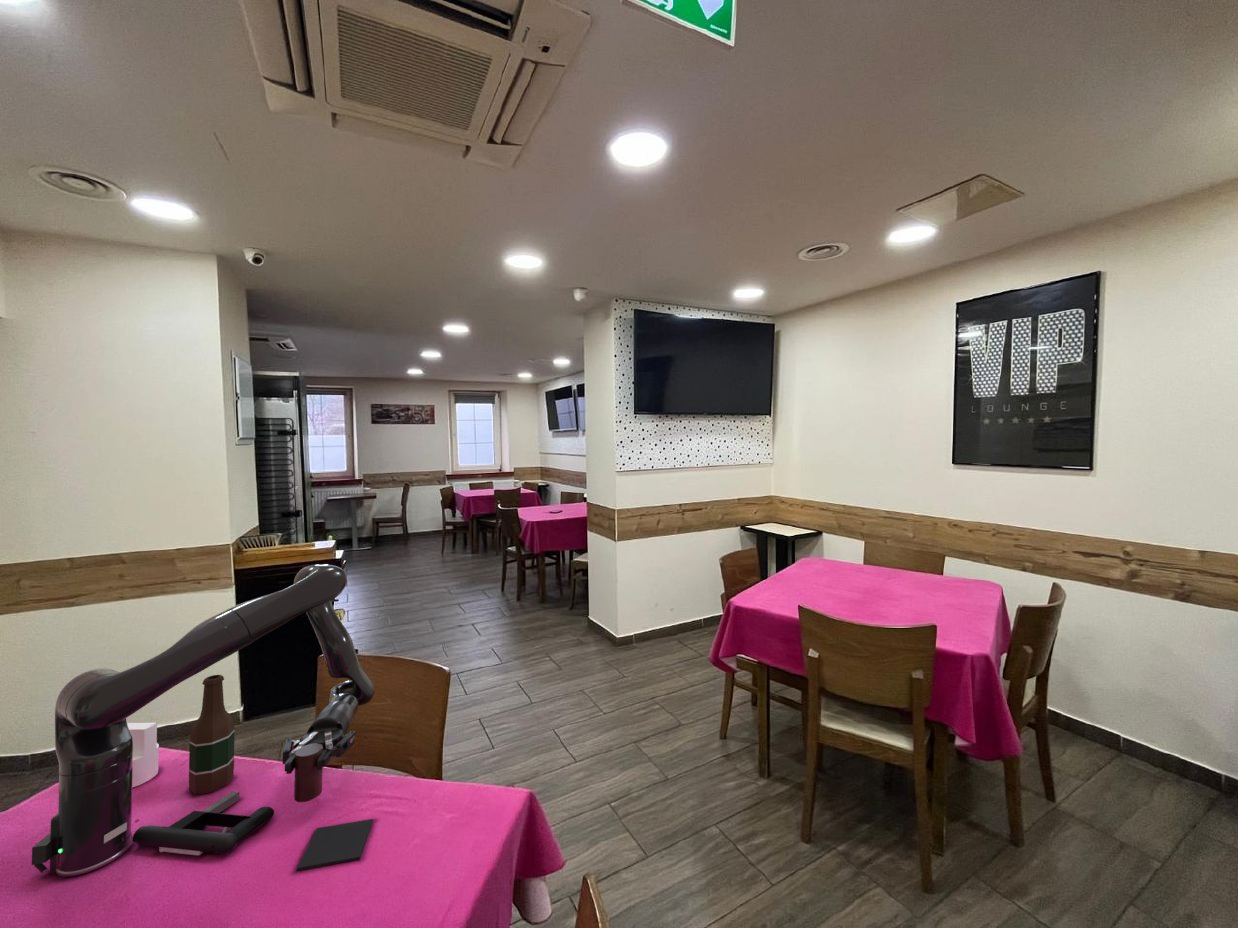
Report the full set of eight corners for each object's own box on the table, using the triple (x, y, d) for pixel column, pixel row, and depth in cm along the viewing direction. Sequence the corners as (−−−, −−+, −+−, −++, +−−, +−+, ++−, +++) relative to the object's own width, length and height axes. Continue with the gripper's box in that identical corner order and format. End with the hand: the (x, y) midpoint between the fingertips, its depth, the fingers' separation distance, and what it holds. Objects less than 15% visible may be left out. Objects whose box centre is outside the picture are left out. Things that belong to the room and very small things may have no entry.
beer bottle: (233, 769, 115) (234, 667, 115) (234, 785, 109) (235, 677, 109) (189, 782, 110) (191, 675, 110) (187, 800, 104) (189, 687, 104)
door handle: (208, 785, 105) (124, 835, 89) (292, 792, 103) (221, 845, 87) (207, 801, 105) (123, 854, 89) (291, 809, 102) (220, 865, 86)
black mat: (297, 870, 85) (297, 867, 85) (317, 830, 95) (317, 827, 95) (359, 859, 88) (359, 856, 88) (373, 821, 97) (372, 818, 97)
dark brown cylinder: (290, 803, 96) (290, 757, 96) (299, 788, 101) (300, 744, 101) (317, 799, 97) (318, 754, 97) (325, 785, 102) (326, 741, 102)
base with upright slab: (169, 766, 116) (170, 716, 116) (131, 791, 107) (132, 736, 107) (130, 767, 116) (131, 716, 116) (90, 792, 107) (91, 736, 107)
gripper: (297, 711, 111) (263, 752, 95) (365, 704, 115) (344, 743, 98) (296, 745, 111) (262, 791, 95) (365, 736, 115) (343, 780, 98)
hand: (304, 766), depth 97 cm, fingers closed on dark brown cylinder, 4 cm apart
